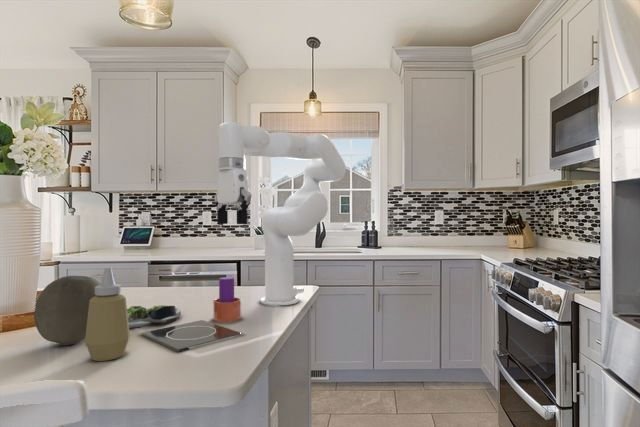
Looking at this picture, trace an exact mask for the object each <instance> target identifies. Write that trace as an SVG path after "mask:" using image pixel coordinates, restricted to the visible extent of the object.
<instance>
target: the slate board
mask: <svg viewBox="0 0 640 427" xmlns="http://www.w3.org/2000/svg"><path fill="white" fill-rule="evenodd" d="M238 335H242V332H240V331H236V330H234V329H230V328H227V327H224V326H221V325H218V324H216V323H212V322H209V321H206V320H203V319H200V320H196V321H191V322H186V323H181V324H177V325H172V326H167V327H163V328H158V329H153V330H148V331H144V332H141V336H142V337H145V338H147V339H150V340H151V341H153V342H156V343H158V344H160V345H162V346H164V347H166V348H168V349H171V350H173V351H175V352H177V353H182V352H185V351H188V350H190V348H192V347H196V346H200V345H203V344H207V343H208V344H209V343H212V342H215V341H219V340H223V339H227V338H231V337H234V336H238Z"/></svg>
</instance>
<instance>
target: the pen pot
mask: <svg viewBox="0 0 640 427" xmlns="http://www.w3.org/2000/svg"><path fill="white" fill-rule="evenodd" d="M212 301H213V302H212V303H213V304H212V305H213V306H212V307H213V308H212V312H213V313H212V315H213V316H212V318H213V321H215V322H220V323H229V322H235V321H238V320H241V319H242V299H241V297H235V296H234V302H219V297H218V298H215V299H213V300H212Z"/></svg>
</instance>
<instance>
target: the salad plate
mask: <svg viewBox="0 0 640 427" xmlns="http://www.w3.org/2000/svg"><path fill="white" fill-rule="evenodd" d="M127 314H128V323H129V329H135V328H139V329H140V327H151V326H155V327H156V326H162V325H163V326H164V325H168V324H171V323H174V322H177V321H178V319H179V318H180V315H181V309H180V308H179V307H176V305H166V304H164V305H163V304H162V305H161V304H159V305H154V306H152V307H150V308H146V307H144V306H142V305H131V306H129V308H127Z"/></svg>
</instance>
